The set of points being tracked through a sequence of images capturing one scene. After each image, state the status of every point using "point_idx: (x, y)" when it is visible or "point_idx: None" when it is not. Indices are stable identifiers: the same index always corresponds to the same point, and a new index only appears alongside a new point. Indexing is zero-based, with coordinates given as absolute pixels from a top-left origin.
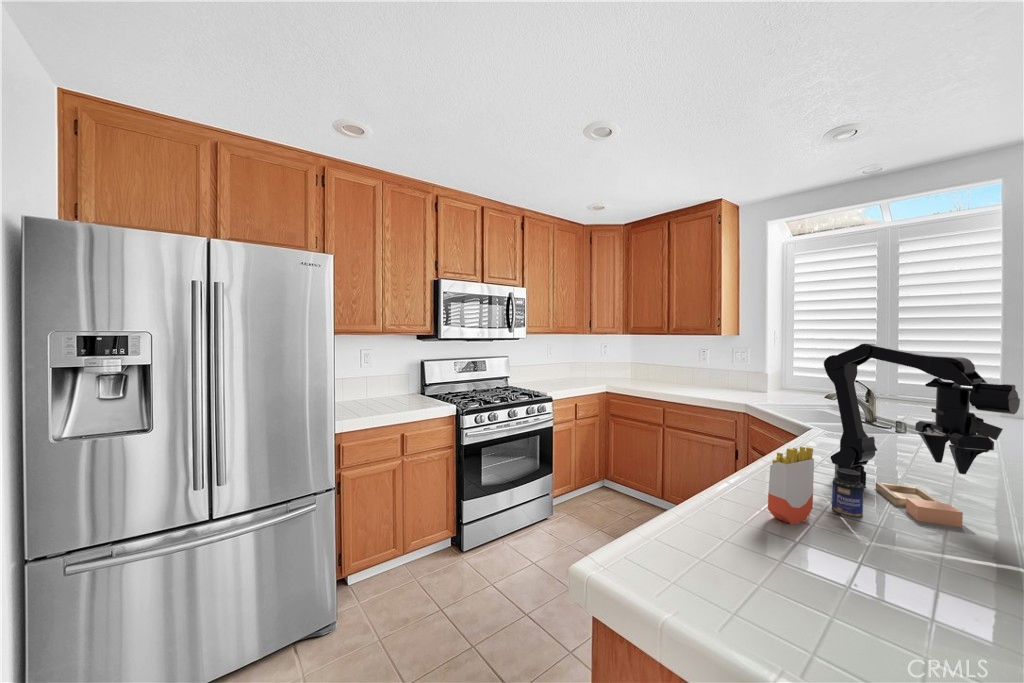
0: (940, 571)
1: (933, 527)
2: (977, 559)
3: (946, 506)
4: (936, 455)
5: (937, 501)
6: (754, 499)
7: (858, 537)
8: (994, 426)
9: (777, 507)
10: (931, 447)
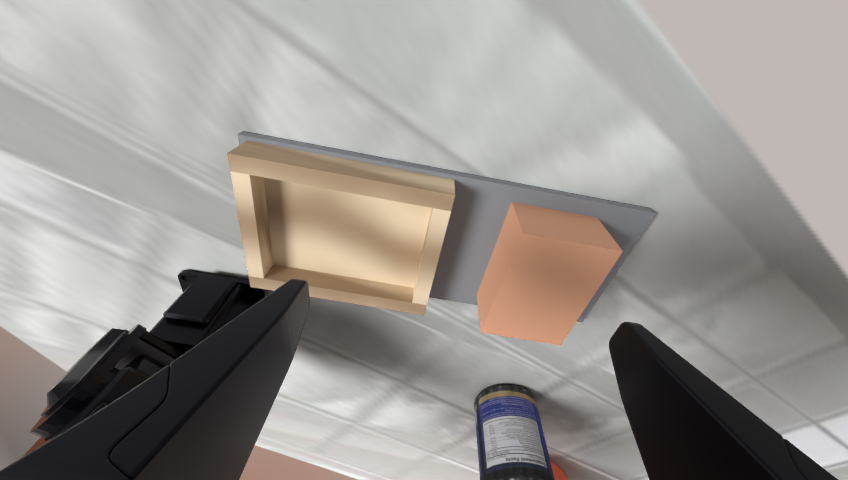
0: (772, 391)
1: (594, 296)
2: (762, 305)
3: (558, 264)
4: (283, 360)
5: (428, 200)
6: (452, 476)
7: (619, 425)
8: None
9: None
10: (240, 468)
